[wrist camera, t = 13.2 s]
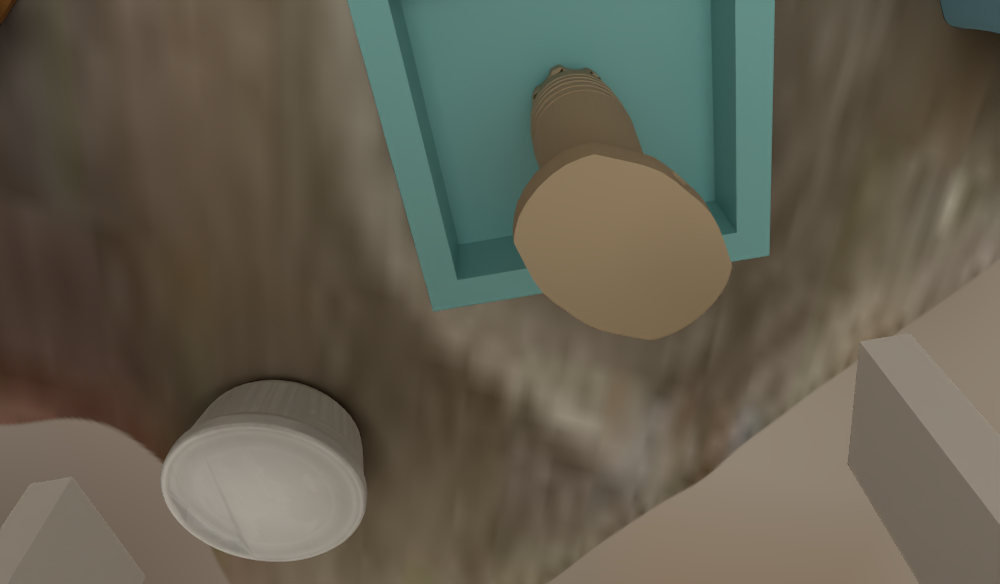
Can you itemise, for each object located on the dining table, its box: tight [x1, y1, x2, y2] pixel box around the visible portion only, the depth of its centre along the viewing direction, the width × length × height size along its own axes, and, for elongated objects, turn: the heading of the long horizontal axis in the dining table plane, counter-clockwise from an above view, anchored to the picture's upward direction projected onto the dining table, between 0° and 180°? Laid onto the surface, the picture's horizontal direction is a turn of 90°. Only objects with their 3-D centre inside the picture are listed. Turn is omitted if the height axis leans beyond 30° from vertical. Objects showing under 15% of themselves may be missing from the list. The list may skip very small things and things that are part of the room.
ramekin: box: [160, 380, 367, 562], centre depth 43 cm, size 11×11×5 cm
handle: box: [513, 64, 732, 340], centre depth 27 cm, size 5×6×15 cm
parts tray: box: [347, 0, 775, 312], centre depth 32 cm, size 16×16×4 cm
